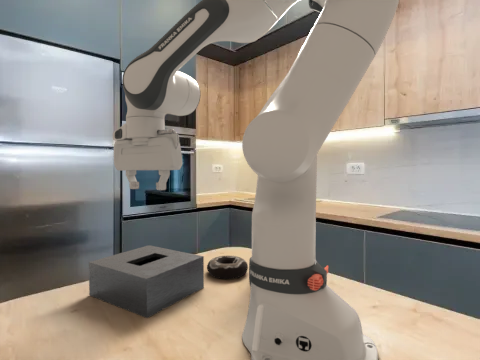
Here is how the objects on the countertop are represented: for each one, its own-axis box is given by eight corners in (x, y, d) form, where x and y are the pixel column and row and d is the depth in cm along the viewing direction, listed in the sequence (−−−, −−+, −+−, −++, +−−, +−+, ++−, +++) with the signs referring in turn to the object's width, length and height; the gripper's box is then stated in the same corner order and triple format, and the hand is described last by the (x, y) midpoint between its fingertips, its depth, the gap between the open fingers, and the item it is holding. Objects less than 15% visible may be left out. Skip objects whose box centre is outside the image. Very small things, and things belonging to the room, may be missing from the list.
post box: (203, 287, 76) (203, 256, 75) (147, 318, 60) (146, 278, 60) (149, 272, 86) (148, 245, 86) (89, 295, 71) (88, 262, 71)
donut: (236, 284, 78) (236, 269, 78) (198, 276, 84) (198, 262, 83) (254, 270, 89) (254, 257, 89) (219, 264, 94) (219, 252, 94)
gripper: (187, 129, 69) (188, 189, 69) (129, 135, 80) (131, 187, 80) (167, 126, 63) (168, 191, 64) (108, 133, 74) (109, 189, 75)
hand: (147, 189), depth 72 cm, fingers open, 8 cm apart
